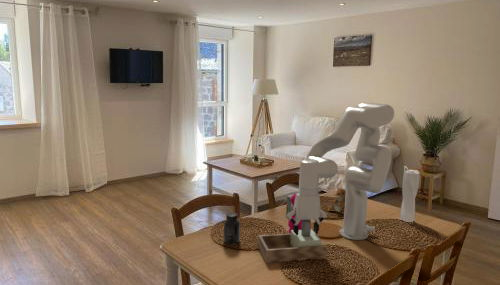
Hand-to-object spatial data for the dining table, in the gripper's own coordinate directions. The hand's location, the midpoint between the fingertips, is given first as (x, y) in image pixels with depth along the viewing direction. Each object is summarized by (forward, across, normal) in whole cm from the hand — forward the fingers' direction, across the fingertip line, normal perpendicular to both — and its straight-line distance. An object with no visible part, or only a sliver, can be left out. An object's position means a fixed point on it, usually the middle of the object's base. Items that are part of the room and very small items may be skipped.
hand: (305, 233), depth 150 cm
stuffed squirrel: (+8, -36, -43) cm, 57 cm away
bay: (+8, +6, 0) cm, 10 cm away
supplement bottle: (+8, +28, -14) cm, 32 cm away
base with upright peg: (+7, 0, 0) cm, 7 cm away
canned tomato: (+8, -8, -39) cm, 41 cm away
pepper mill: (+8, -2, -18) cm, 20 cm away
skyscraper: (+8, -63, -25) cm, 68 cm away
